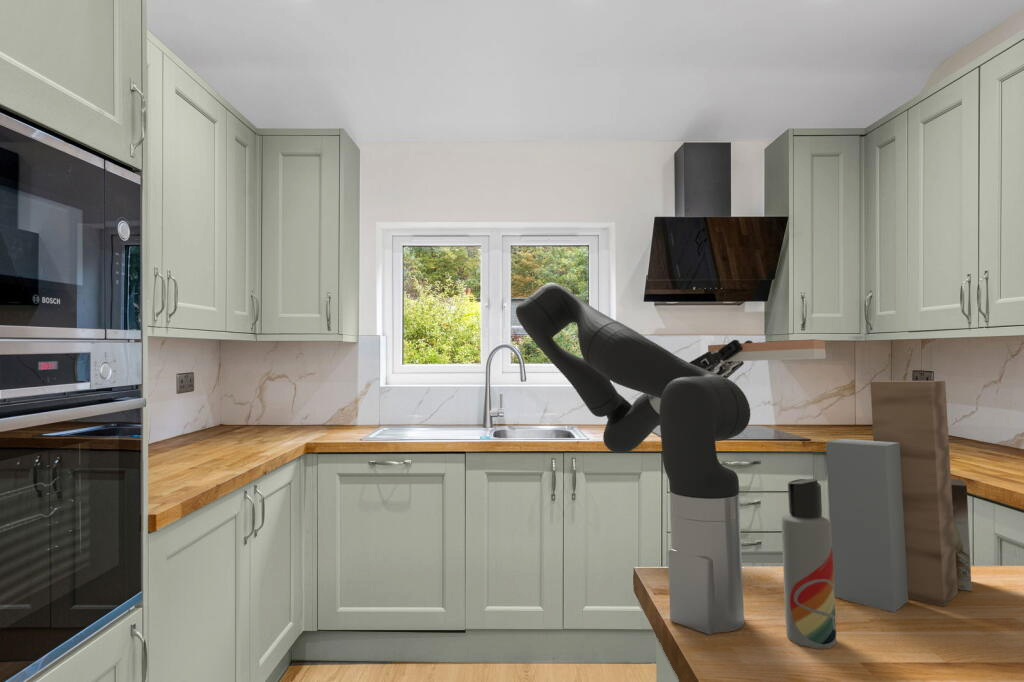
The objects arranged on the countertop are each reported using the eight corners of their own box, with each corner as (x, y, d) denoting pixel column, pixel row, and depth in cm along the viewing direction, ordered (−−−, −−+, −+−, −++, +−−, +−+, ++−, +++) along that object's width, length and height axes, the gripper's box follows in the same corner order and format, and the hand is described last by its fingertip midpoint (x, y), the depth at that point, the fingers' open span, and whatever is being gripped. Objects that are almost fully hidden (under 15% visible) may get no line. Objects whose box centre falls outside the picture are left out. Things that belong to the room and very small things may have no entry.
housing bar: (814, 358, 94) (813, 339, 94) (708, 361, 108) (707, 345, 108) (825, 358, 96) (824, 340, 96) (720, 361, 111) (719, 345, 111)
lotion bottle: (835, 654, 70) (827, 484, 71) (783, 643, 73) (776, 480, 74) (838, 635, 75) (830, 477, 76) (789, 626, 78) (782, 474, 79)
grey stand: (893, 612, 82) (885, 446, 83) (833, 596, 88) (825, 441, 90) (908, 601, 86) (899, 442, 87) (849, 586, 92) (841, 438, 93)
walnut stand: (944, 606, 84) (931, 381, 86) (881, 591, 90) (870, 381, 92) (957, 594, 88) (945, 380, 90) (896, 580, 94) (886, 381, 96)
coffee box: (901, 581, 94) (895, 480, 95) (900, 570, 99) (895, 474, 100) (973, 592, 89) (967, 484, 90) (968, 579, 94) (962, 478, 95)
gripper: (646, 375, 113) (714, 325, 102) (689, 375, 122) (756, 328, 111) (663, 410, 110) (735, 361, 99) (706, 407, 118) (777, 362, 108)
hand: (746, 344), depth 105 cm, fingers closed on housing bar, 4 cm apart
